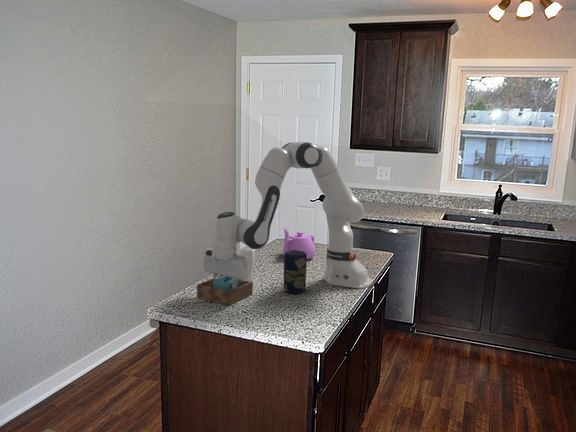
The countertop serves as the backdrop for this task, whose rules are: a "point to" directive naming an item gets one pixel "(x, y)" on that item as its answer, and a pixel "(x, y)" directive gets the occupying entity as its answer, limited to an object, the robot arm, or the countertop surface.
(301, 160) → the robot arm
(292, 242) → the teapot
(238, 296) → the walnut crate
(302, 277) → the canister
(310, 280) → the countertop surface
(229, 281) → the teal crate
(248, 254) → the white cup
